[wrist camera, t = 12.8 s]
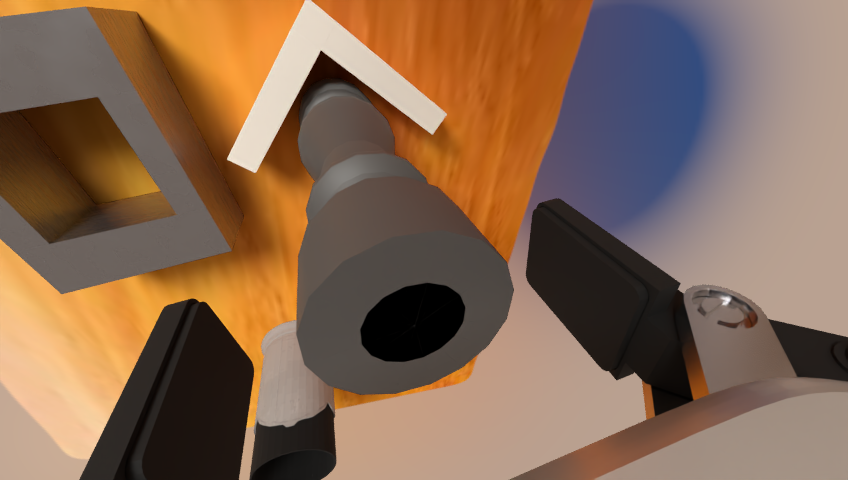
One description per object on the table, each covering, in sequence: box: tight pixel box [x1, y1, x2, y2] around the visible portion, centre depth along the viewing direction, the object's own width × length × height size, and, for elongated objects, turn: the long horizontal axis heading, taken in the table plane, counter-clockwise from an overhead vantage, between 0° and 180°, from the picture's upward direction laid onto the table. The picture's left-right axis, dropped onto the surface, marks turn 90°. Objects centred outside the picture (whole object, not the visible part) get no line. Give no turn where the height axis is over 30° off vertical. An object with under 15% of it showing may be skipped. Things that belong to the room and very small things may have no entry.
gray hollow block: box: [0, 7, 244, 294], centre depth 22 cm, size 16×12×6 cm
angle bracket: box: [227, 0, 447, 173], centre depth 24 cm, size 10×17×5 cm, turn 98°
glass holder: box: [250, 320, 336, 480], centre depth 37 cm, size 9×14×15 cm, turn 175°
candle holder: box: [296, 78, 514, 395], centre depth 18 cm, size 6×6×25 cm
